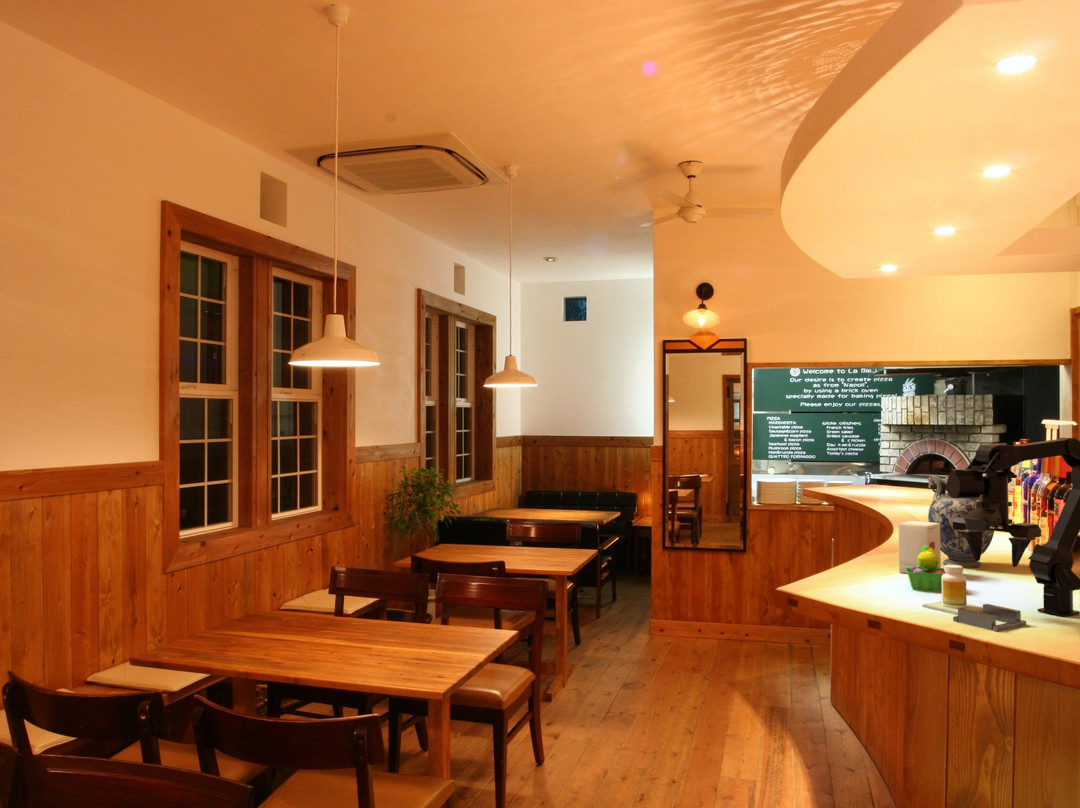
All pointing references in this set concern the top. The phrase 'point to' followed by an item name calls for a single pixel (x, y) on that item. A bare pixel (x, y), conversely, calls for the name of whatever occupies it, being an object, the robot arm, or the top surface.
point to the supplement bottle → (954, 587)
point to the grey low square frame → (991, 618)
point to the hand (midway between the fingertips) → (995, 563)
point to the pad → (950, 610)
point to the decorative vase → (945, 513)
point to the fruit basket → (926, 571)
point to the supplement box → (917, 542)
